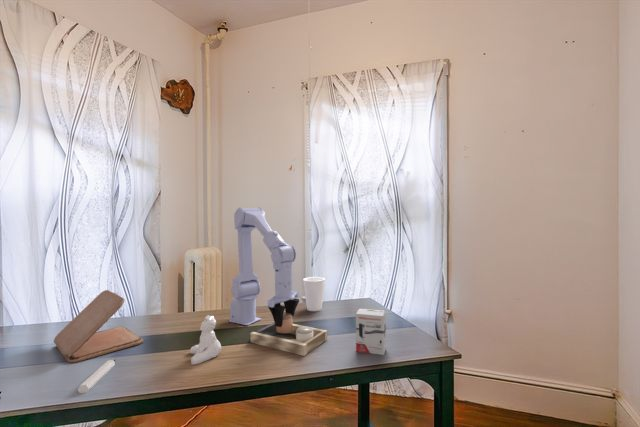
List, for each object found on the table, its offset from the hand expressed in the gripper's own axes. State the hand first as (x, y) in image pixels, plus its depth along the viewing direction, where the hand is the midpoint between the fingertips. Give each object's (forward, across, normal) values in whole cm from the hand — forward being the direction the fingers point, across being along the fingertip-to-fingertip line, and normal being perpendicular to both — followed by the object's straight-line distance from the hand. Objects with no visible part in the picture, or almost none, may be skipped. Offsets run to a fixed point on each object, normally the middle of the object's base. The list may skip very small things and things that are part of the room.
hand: (284, 323), depth 109 cm
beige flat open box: (+5, 0, -2) cm, 6 cm away
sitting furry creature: (+6, -21, +13) cm, 25 cm away
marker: (+6, -43, +28) cm, 51 cm away
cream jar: (+6, 0, -8) cm, 10 cm away
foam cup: (+6, +34, +9) cm, 36 cm away
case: (+6, -32, +50) cm, 60 cm away
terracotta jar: (+2, 0, 0) cm, 2 cm away
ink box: (+6, +6, -28) cm, 29 cm away
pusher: (+5, 0, +8) cm, 10 cm away
